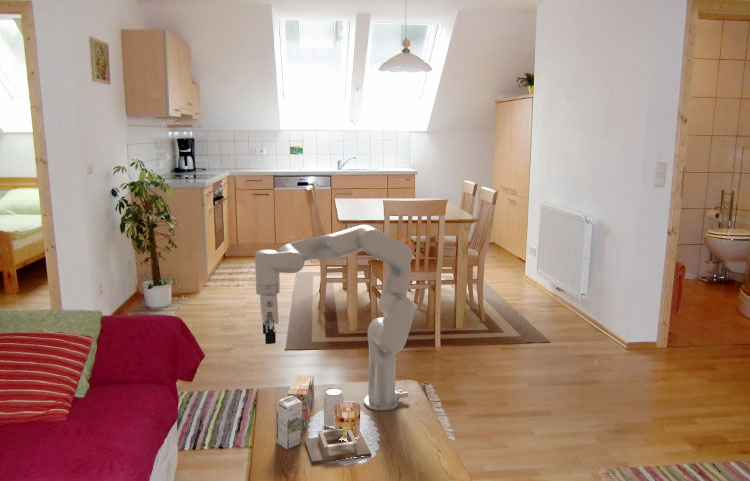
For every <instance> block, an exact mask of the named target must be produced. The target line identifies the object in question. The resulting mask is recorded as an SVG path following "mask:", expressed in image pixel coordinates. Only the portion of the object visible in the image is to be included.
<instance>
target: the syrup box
mask: <svg viewBox="0 0 750 481" xmlns="http://www.w3.org/2000/svg"><path fill="white" fill-rule="evenodd" d="M302 439H303V428H302V402H301V401H300V400H299V399H297V398H296V397H294V396H289V397H288V396H286V397H284V398H281V399H278V400H276V443H277V444H278V445H279V446H281V447H282V448H284V449H286V450H287V451H288V450H291V449H292V448H294V447H297V446H299V445H301V444H302V443H303V440H302Z"/></svg>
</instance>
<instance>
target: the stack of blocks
mask: <svg viewBox="0 0 750 481" xmlns="http://www.w3.org/2000/svg"><path fill="white" fill-rule="evenodd" d="M314 382H315V380H314V374H313V375H312V374H311V375H310V374H309V375H307V374H306V375H305V374H304V375H301V374H298V375H296V376H295V377H292V380H291V383H290V384H291V385H290V387H289V390H288V391H287V397H289V396H294V397H296V398H297V399H299V400H300V401H301V402H302V429H307V428H308V424H309V420H310V417H311V412H312V411H311V410H312V407H313V404H314V400H315V383H314Z"/></svg>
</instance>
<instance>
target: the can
mask: <svg viewBox="0 0 750 481" xmlns="http://www.w3.org/2000/svg"><path fill="white" fill-rule="evenodd" d="M324 392H325V393H323V425H324V424H325V425H327V426H334V406H335V405H336V404H339V403H343V404H344V393H343V390H342V389H341V388H339V387H336V386H335V387H334V386H333V387H328V388H326V389H325V391H324ZM325 425H324V426H325Z"/></svg>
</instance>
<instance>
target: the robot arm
mask: <svg viewBox="0 0 750 481" xmlns="http://www.w3.org/2000/svg"><path fill="white" fill-rule="evenodd" d="M360 252H364V253H366V254H368V255H370V256H372V257H373V258H375V259H376V260H379V261H381V262H383V263H385V267H386V277H385V279H384V280H385V281H384V284H383V288H382V291H381V294H380V297H379V301H378V309H379V310H380V311H381V313H382V314H384V316H385V317H383V316H380V317H377V318H374V319H373V320H372V321H371V322H370V323H369V325H368V327H367V342H368V394H367V395H366V396H365V397H364V399H363V404H364V406H365V407H366V408H368V409H370V410H374V411H379V412H385V411H386V412H387V411H390V410H391V411H392V410H395V409H396V408H397V407H399V405H400V399H402V398H408V397H409V394H408V393H409V392H408V391H403V390H402V389H399V390H396V370H397V369H396V366H397V365H396V363H397V354H398V353H401V351H402V350H403V349H404V347H405V345H406V343H407V340H408V339H409V338H408V337H409V334H410V330H411V327H412V324H413V321H414V317H415V305H414V303H413V301H412V300H411V299H410V298H409V297H408V296H407V295H408V291H409V288H410V283H411V278H412V267H411V262H412V261H413V251H412V249H411V248H410V246H408V245H407V244H406V243H403V242H401V241H399V239H398V240H397V239H395V238H393V237H391V236H389V235H388V234H386V233H384V232H382V231H381V230H379V229H378V228H376V227H374V226H371V225H370V224H359V225H356V226H354V227H350V228H346V229H344V230H341V231H337V232H334V233H333V232H332V233H330V234H324V235H320V236H319V235H318V236H315V237H314V236H313V237H309V238H303V239H300V240H296V241H291V242H290V243H286V244H284V245H282V246H281V247H279V248H278V250H275V249H269V248H268V249H259V250H258V251H256V253H255V255H254V257H255V258H254V260H255V262H254V264H255V265H254V266H255V267H254V268H255V288H256V289H255V294H257V295H258V296H259V303H260V304H259V306H260V314H261V320H262V333H263V335H264V336H265V342H264V343H265V345H272V344H273V345H274V344H276V342H277V340H276V339H277V338H276V334H277V333H276V327H275V325H278V324H279V306H278V305H279V304H278V294H280V293H281V290H280V287H281V285H280V274H281V273H282V274H297V273H299V272H301V270H303V268H304V266H305V261H306V262H307V261H309V260H311V261H312V260H317V259H319V260H320V259H323V260H338V259H341V258H345V257H349V256H351V255H353V254H357V253H360Z"/></svg>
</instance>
